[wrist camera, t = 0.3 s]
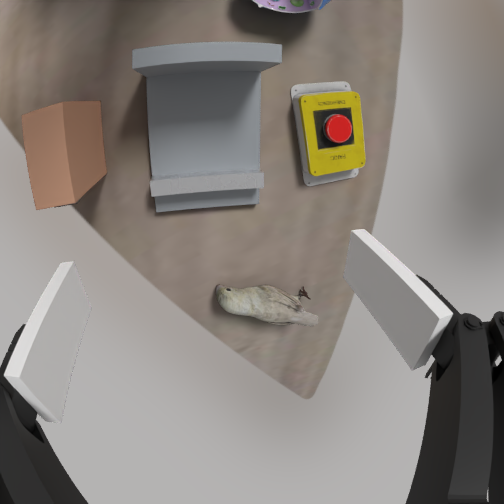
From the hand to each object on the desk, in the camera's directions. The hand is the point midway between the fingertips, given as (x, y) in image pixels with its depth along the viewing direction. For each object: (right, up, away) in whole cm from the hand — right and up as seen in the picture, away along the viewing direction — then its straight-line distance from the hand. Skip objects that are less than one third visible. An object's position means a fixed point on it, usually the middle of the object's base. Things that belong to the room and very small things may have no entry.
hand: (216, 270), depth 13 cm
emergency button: (+12, +18, +25) cm, 33 cm away
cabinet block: (-20, +15, +18) cm, 31 cm away
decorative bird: (+3, -6, +36) cm, 36 cm away
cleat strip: (-4, +10, +23) cm, 26 cm away
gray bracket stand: (-4, +16, +21) cm, 27 cm away
